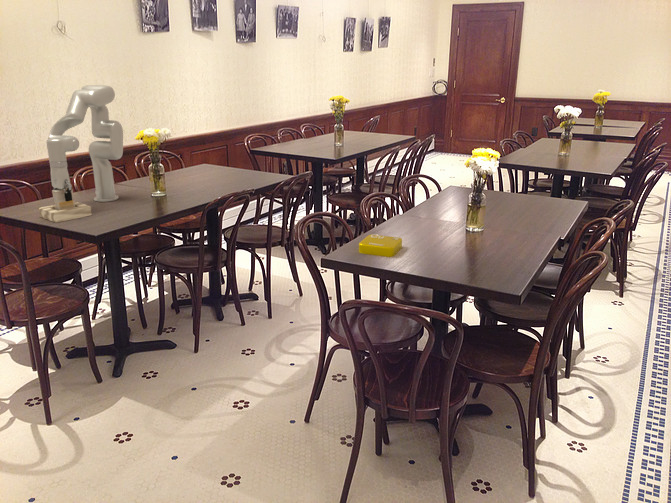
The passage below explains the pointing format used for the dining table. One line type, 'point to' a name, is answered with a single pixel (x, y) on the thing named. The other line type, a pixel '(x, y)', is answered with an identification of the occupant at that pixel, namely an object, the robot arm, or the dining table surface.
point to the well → (65, 212)
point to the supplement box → (62, 200)
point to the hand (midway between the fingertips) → (63, 199)
